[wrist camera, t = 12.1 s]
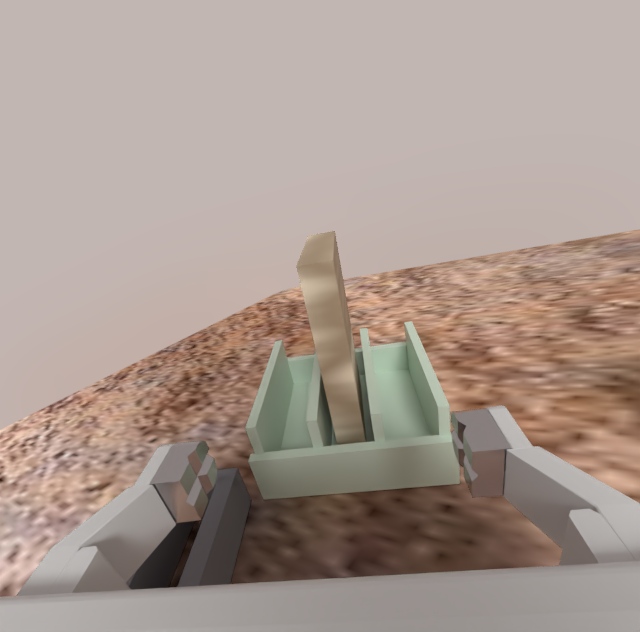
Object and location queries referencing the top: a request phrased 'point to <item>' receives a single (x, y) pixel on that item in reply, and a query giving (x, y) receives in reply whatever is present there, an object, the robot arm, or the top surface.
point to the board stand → (202, 540)
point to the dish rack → (380, 424)
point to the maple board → (332, 335)
